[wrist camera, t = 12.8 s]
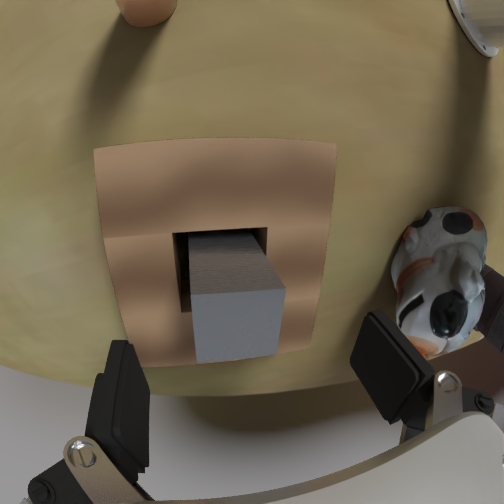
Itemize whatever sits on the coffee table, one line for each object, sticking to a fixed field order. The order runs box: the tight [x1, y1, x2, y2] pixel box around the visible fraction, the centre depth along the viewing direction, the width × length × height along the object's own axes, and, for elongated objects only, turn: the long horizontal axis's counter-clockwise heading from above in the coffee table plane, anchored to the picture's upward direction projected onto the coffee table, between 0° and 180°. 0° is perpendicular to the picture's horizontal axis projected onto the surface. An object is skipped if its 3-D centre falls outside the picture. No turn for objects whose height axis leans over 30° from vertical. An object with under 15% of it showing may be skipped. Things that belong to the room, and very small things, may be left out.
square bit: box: [188, 228, 286, 363], centre depth 16 cm, size 4×4×10 cm
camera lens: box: [473, 264, 504, 354], centre depth 24 cm, size 8×8×15 cm
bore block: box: [93, 137, 337, 367], centre depth 19 cm, size 16×14×4 cm
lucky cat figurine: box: [390, 206, 487, 361], centre depth 22 cm, size 15×12×14 cm
